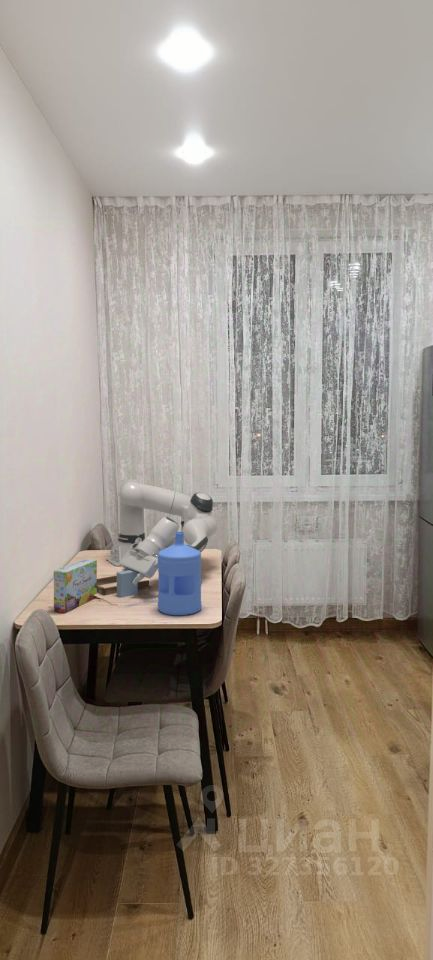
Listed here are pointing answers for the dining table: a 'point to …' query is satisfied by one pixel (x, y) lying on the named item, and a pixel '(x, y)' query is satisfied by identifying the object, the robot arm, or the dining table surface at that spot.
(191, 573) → the water jug
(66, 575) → the snack box
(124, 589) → the board
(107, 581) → the frame
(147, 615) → the dining table surface
